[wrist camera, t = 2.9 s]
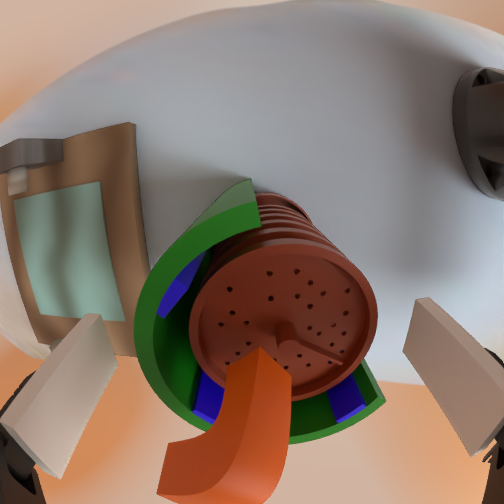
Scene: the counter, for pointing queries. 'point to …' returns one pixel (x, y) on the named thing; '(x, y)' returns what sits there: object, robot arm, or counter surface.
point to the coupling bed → (76, 231)
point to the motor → (253, 345)
